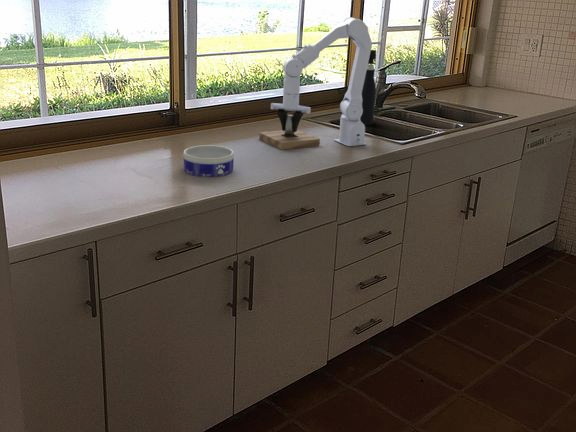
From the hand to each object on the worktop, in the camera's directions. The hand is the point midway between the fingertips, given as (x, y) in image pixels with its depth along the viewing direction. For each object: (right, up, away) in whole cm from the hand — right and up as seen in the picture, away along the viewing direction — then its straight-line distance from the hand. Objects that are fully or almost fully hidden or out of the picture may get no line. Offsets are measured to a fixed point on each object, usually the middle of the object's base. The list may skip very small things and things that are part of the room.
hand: (289, 130), depth 231 cm
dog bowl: (-25, -17, -34) cm, 46 cm away
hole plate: (0, -4, +2) cm, 4 cm away
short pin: (-1, +2, +16) cm, 16 cm away
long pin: (0, -3, +1) cm, 3 cm away
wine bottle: (+32, +8, +38) cm, 50 cm away
